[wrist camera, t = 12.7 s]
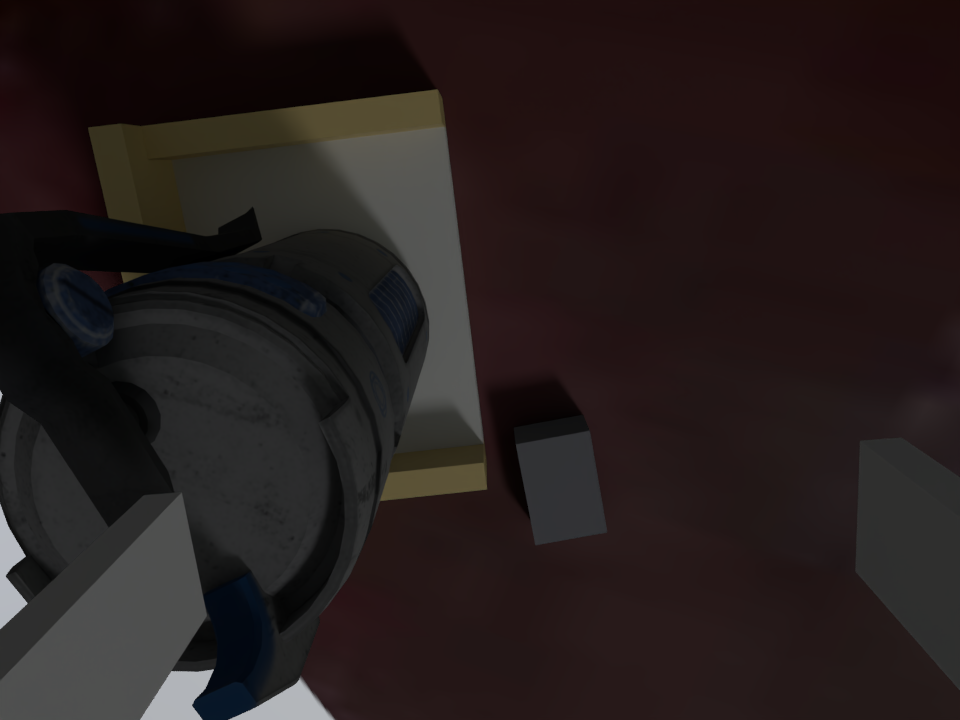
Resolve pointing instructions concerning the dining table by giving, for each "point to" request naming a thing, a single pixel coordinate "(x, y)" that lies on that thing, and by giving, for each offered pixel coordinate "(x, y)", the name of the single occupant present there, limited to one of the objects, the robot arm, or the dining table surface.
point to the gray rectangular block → (560, 479)
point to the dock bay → (330, 205)
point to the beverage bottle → (206, 415)
